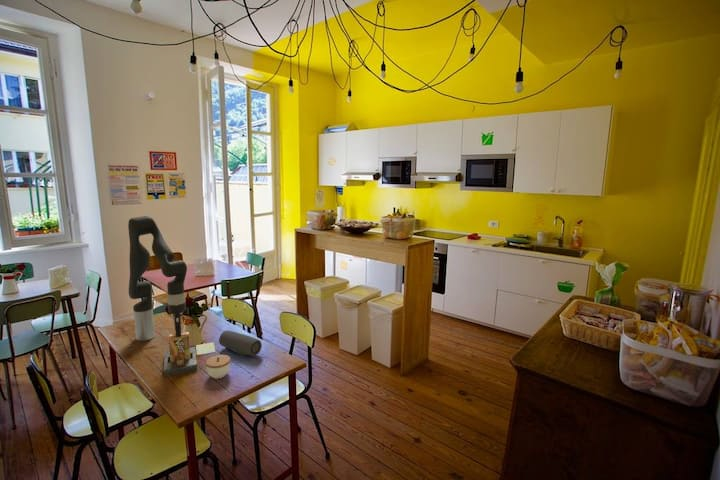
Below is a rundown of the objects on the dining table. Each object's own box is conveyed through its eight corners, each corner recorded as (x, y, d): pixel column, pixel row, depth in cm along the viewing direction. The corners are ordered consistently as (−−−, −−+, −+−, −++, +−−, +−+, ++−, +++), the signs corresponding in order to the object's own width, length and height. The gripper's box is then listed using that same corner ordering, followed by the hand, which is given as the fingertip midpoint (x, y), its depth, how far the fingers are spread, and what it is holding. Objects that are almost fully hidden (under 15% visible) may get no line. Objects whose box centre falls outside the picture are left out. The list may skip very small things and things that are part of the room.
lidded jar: (212, 368, 171) (211, 350, 169) (234, 369, 170) (233, 351, 169) (202, 381, 160) (201, 362, 158) (225, 382, 160) (224, 363, 158)
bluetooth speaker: (262, 353, 187) (262, 336, 185) (249, 361, 178) (249, 343, 177) (231, 343, 197) (231, 326, 195) (218, 350, 189) (217, 333, 187)
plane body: (165, 356, 180) (164, 344, 179) (195, 351, 187) (194, 339, 185) (163, 376, 163) (162, 362, 162) (197, 370, 169) (196, 356, 168)
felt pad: (196, 345, 193) (195, 345, 193) (213, 342, 197) (213, 342, 197) (196, 355, 182) (196, 355, 182) (215, 352, 186) (215, 351, 186)
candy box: (190, 359, 178) (189, 331, 176) (190, 363, 175) (189, 334, 172) (170, 363, 175) (169, 334, 172) (170, 367, 171) (168, 337, 168)
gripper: (168, 298, 174) (170, 329, 176) (167, 307, 161) (169, 340, 164) (185, 296, 177) (187, 326, 180) (185, 305, 165) (187, 337, 167)
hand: (178, 333), depth 172 cm, fingers open, 8 cm apart
